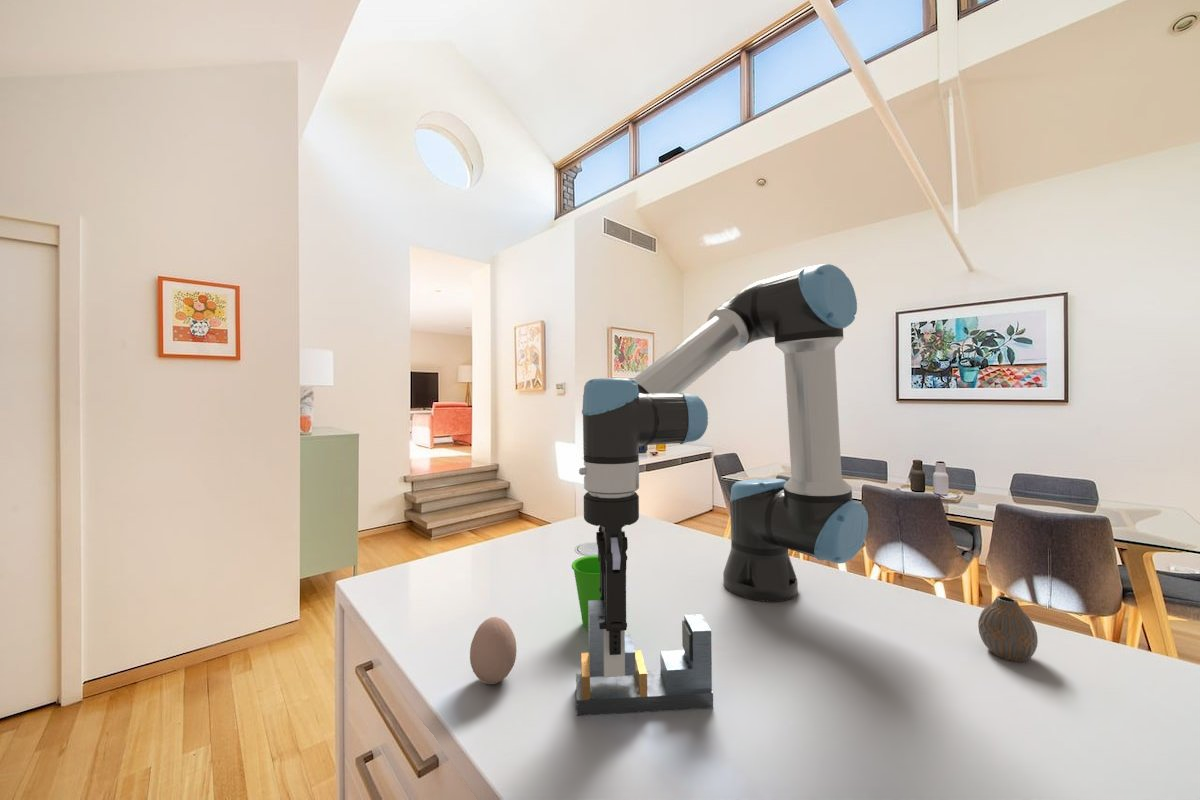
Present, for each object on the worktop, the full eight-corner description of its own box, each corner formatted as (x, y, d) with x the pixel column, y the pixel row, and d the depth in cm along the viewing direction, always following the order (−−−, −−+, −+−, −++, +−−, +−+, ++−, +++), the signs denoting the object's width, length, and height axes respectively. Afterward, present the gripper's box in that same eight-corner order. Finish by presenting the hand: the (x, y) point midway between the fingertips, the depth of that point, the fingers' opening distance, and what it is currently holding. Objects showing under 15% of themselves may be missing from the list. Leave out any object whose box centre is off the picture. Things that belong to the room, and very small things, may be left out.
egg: (480, 666, 69) (479, 607, 69) (522, 668, 68) (521, 608, 68) (462, 694, 62) (461, 629, 62) (508, 697, 62) (508, 631, 62)
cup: (617, 639, 76) (616, 575, 76) (566, 634, 78) (565, 571, 78) (625, 614, 85) (624, 556, 85) (578, 610, 87) (578, 553, 87)
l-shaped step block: (630, 655, 63) (630, 599, 63) (635, 675, 59) (635, 614, 59) (588, 657, 63) (588, 600, 63) (589, 677, 58) (589, 616, 58)
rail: (701, 681, 64) (700, 612, 64) (713, 708, 59) (712, 632, 59) (576, 688, 63) (575, 617, 63) (576, 715, 58) (576, 638, 58)
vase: (1025, 672, 66) (1025, 613, 66) (970, 649, 72) (969, 595, 72) (1045, 659, 69) (1045, 602, 69) (990, 638, 75) (990, 586, 75)
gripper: (581, 480, 69) (583, 630, 69) (585, 508, 52) (587, 709, 52) (629, 479, 70) (631, 628, 70) (649, 506, 52) (651, 705, 52)
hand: (612, 662), depth 61 cm, fingers closed on l-shaped step block, 4 cm apart
